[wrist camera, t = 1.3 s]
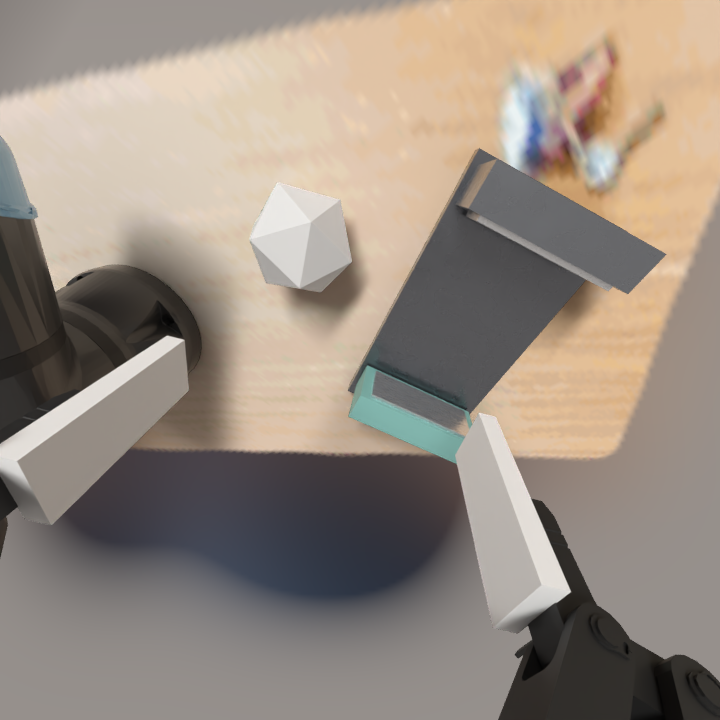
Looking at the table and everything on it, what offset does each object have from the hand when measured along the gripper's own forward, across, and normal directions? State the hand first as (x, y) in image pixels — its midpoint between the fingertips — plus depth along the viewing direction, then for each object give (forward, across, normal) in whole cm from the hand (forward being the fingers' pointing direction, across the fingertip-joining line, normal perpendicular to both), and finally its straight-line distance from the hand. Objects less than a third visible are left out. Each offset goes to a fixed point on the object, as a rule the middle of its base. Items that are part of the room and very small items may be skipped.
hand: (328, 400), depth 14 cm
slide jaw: (+18, +8, -11) cm, 23 cm away
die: (+20, -6, +3) cm, 21 cm away
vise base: (+20, +10, -2) cm, 22 cm away
